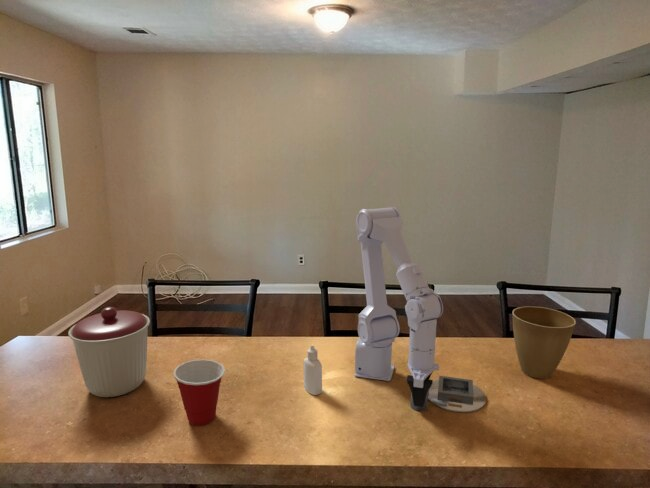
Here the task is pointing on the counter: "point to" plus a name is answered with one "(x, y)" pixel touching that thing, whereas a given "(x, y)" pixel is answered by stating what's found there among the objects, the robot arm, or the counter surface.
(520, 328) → the plant pot
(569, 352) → the counter surface
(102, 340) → the canister
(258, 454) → the counter surface
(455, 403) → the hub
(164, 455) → the counter surface
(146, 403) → the counter surface
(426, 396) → the shaft
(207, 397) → the plastic cup
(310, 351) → the eye dropper bottle
